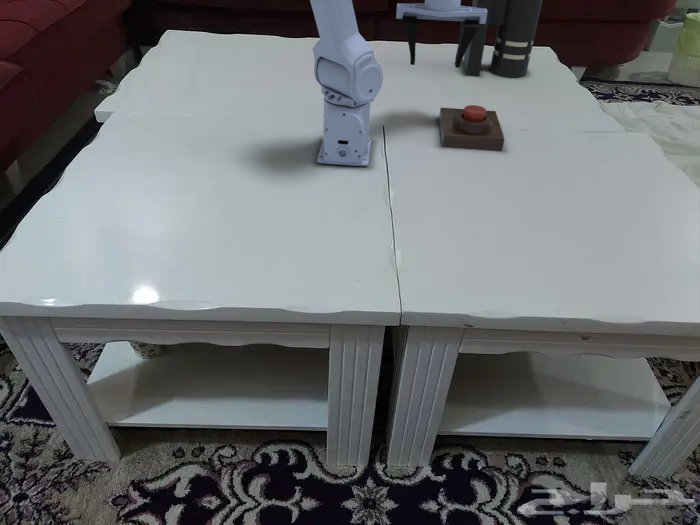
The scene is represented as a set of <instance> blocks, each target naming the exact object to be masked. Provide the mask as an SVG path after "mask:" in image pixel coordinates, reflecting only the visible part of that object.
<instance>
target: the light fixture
mask: <svg viewBox="0 0 700 525" xmlns="http://www.w3.org/2000/svg"><path fill="white" fill-rule="evenodd" d="M543 1H544V0H472V3H471V7H475V8H485V9H487V18H486V23H485V24H480V23H479V24H478V25H479V29H478V31H477V33H476V35H475V36H474V38H473V39H472V41H471V42H470V44H469V46H468V48H467V50H466V52H465V54H464V56H463V60H462V61H463V68H464V72H465V73H464V74H465V76H469V77H480V72H481V67H482V61H483V56H484V50H485V43H486V38H487V34H488V28H489V27H488V26H489V25H490V26H491V25H494V26H497V29H496V35H495V37H496V38H494V39H495V40H494V45H493V46H494V47H493V49H494V50H493V51H492V56H491V61H490V67H489V71H490V72H491V73H492V74H495V75H497V76H500V77H505V78H522V77H524V76H526V75H527V72H528V67H529V64H530V59H531V53H532V49H533V46H534V40H535V37H536V33H537V28H538V23H539V18H540V14H541V10H542V5H543Z"/></svg>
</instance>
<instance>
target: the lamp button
mask: <svg viewBox="0 0 700 525" xmlns="http://www.w3.org/2000/svg"><path fill="white" fill-rule="evenodd" d="M463 109H464V113H463V119H465V120H468V121H471V122H482V121H484V118H485V113H486V111H487V109H486V108H485V107H483V106H481V105H475V104H469V105H466V106H464V108H463Z"/></svg>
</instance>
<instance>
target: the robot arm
mask: <svg viewBox="0 0 700 525" xmlns="http://www.w3.org/2000/svg"><path fill="white" fill-rule="evenodd" d="M309 2H310V5H311V9H312V12H313V17H314V20H315V24H316V27H317V31H318V35H319V38H320V39H319V40H318V41H317V42H316V43H315V45H314V46H313V47H312V52H313V56H314V65H313V77H314V79H315V81H316V82H317V84H318V85H319V86H321V92H320V93H321V94H322V95H323V137H322V142H321V144H320V148H319V152H318V156H317V161H316V162H317V163H318V164H327V165H340V166H353V167H355V166H356V167H368V166H369V160H370V153H371V145H372V139H371V138H369V132H370V131H369V130H370V129H369V128H370V113H371V103H373V102H374V101H375V100H374V99H376V97H377V96H378V94H379V92H380V91H381V88H382V85H383V81H384V72H383V69H382V66H381V64H379V62H378V61H377V60H376V57H375V53H374V49H373V48H372V47H371V45H370V44H369V43H368V42H367V41H366V39H365V38H364V37H363V36H362V35H361V34H360V32H359V27H358V22H357V19H356V18H357V17H356V13H355V9H354V4H353V0H309ZM461 2H462V0H424V2H422V3H421V2H420V3H418V2H417V3H397V4H396V14H395V15H396V17H395V19H397V20H402V27H403V30H404V34H405V37H406V40H407V43H408V48H409V54H410V56H409V57H410V60H409V62H410V65H411V66H415V65H416V44H417V36H418V28H419V27H418V26H419V25H418V24H419V23H418V22H419V21H418V20H431V21H432V20H433V21H449V22H460V27H459V36H458V37H459V38H458V44H457V49H456V54H455V61H454V67H455V68H457V69H458V68H459V69H460V68H461V65H462V61H463V60H464V54H465V52H466V50H467V48H468V46H469V44H470V42H471V41H472V39H473V38H474V36H475V35H476V33H477V31H478V29H479V25H478V24H479V23H480V24H485V23H486V18H487V9H485V8H475V7H472V6H467V5H461Z"/></svg>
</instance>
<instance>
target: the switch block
mask: <svg viewBox="0 0 700 525" xmlns="http://www.w3.org/2000/svg"><path fill="white" fill-rule="evenodd" d="M463 113H464V108H454V107H440V109H439V116H438V122H439V131H440V137H441V138H440V139H441V146H442V148H456V149H457V148H458V149H470V150H471V149H473V150H474V149H475V150H486V151H487V150H488V151H503V147H504V144H505V135H504V133H503V129H502V127H501V123H500V121H499V118H498V115H497V111H496V110H486V113H485V118H484V121H482V122H471V121H468V120H465V119H463Z"/></svg>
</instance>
